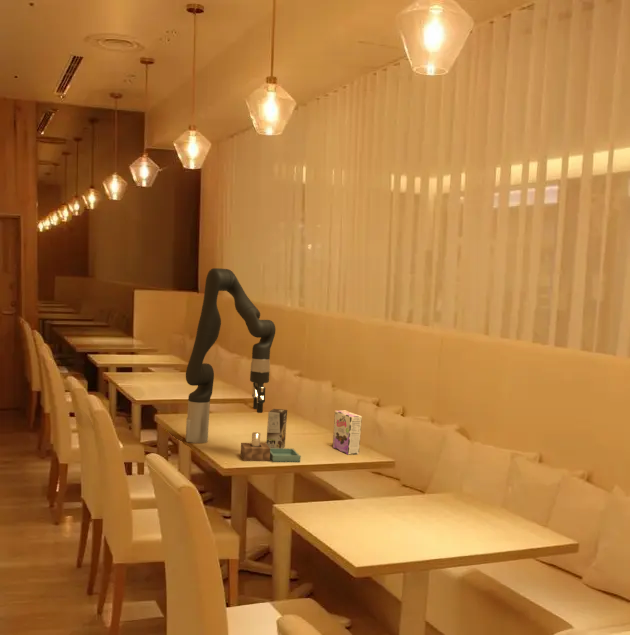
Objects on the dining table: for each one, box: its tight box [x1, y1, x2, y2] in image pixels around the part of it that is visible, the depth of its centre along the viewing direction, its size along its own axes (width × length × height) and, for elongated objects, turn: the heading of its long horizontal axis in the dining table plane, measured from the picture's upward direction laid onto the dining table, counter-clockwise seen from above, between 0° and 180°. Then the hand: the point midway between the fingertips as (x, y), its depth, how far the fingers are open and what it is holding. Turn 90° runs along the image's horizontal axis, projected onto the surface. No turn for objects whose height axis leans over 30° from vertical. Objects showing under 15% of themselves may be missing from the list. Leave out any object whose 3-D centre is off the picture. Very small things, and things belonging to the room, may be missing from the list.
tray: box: [270, 448, 301, 463], centre depth 314 cm, size 11×13×2 cm
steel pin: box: [251, 431, 261, 447], centre depth 311 cm, size 3×3×10 cm
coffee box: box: [265, 408, 288, 449], centre depth 331 cm, size 9×6×16 cm
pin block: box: [240, 442, 271, 462], centre depth 311 cm, size 10×10×5 cm
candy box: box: [332, 409, 363, 455], centre depth 335 cm, size 14×6×16 cm, turn 27°
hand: (257, 410), depth 310 cm, fingers open, 8 cm apart
